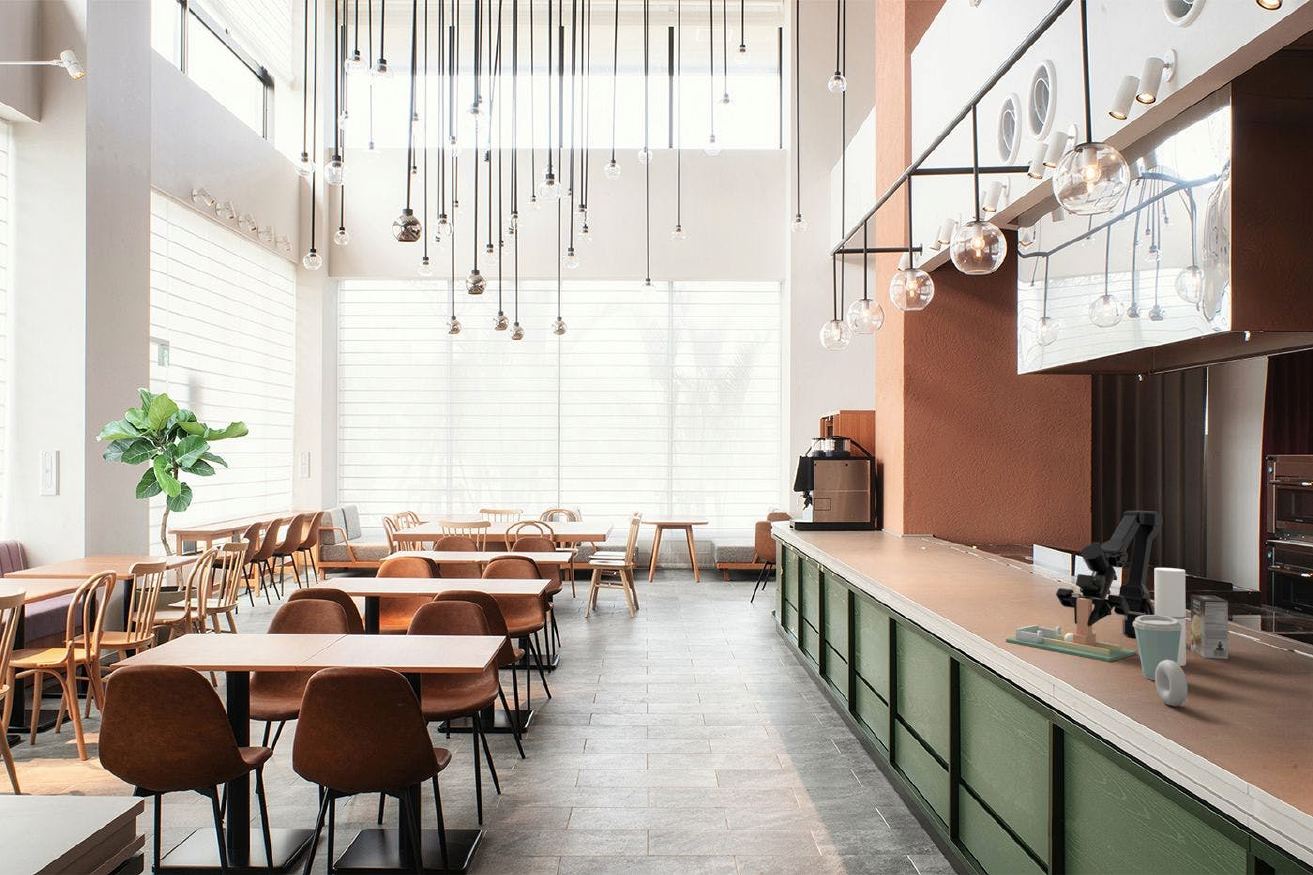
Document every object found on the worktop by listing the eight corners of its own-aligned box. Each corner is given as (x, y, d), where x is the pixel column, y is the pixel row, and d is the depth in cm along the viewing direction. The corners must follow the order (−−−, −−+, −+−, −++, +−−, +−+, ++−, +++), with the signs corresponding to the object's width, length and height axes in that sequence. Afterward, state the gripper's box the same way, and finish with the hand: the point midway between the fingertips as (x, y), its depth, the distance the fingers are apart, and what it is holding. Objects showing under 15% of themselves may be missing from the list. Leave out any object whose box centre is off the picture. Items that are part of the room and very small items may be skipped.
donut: (1152, 698, 194) (1151, 654, 194) (1167, 699, 194) (1167, 655, 194) (1174, 711, 184) (1173, 665, 184) (1191, 712, 184) (1190, 666, 184)
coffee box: (1189, 650, 243) (1189, 594, 243) (1214, 651, 242) (1214, 595, 242) (1203, 658, 234) (1203, 599, 234) (1229, 659, 233) (1229, 600, 233)
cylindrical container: (1175, 666, 224) (1175, 571, 224) (1149, 661, 230) (1148, 568, 230) (1191, 664, 227) (1191, 570, 227) (1165, 658, 233) (1164, 567, 234)
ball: (1081, 641, 245) (1070, 633, 248) (1079, 635, 243) (1069, 628, 245) (1073, 649, 245) (1062, 642, 247) (1071, 644, 242) (1061, 636, 245)
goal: (1036, 634, 260) (1036, 622, 260) (1062, 639, 253) (1062, 627, 253) (1015, 639, 253) (1015, 627, 253) (1041, 644, 246) (1041, 631, 246)
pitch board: (1034, 635, 262) (1034, 627, 262) (1136, 653, 238) (1136, 645, 238) (1006, 641, 253) (1006, 633, 253) (1109, 661, 229) (1109, 653, 229)
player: (1083, 644, 245) (1083, 597, 245) (1095, 646, 242) (1095, 598, 243) (1073, 646, 242) (1072, 599, 242) (1085, 649, 239) (1085, 601, 239)
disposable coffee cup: (1182, 686, 205) (1182, 623, 205) (1131, 679, 210) (1131, 619, 211) (1182, 676, 214) (1182, 616, 214) (1133, 670, 219) (1133, 612, 220)
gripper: (1058, 560, 252) (1039, 601, 245) (1124, 567, 237) (1106, 611, 231) (1072, 584, 257) (1053, 625, 250) (1137, 593, 242) (1119, 636, 235)
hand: (1081, 624), depth 241 cm, fingers closed on player, 3 cm apart
